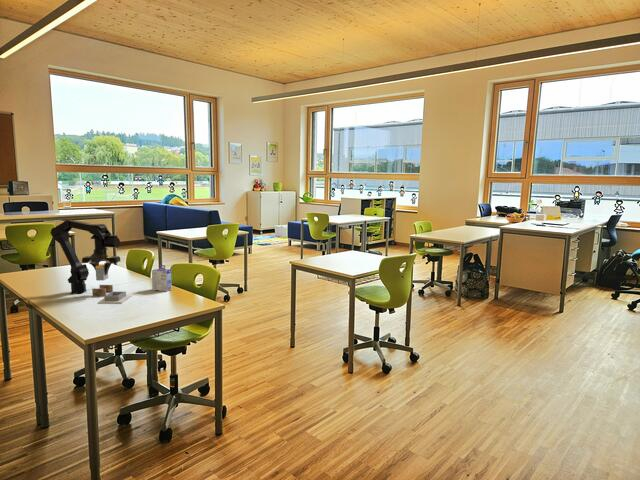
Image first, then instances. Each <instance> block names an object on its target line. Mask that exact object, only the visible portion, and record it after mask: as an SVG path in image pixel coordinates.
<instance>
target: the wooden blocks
mask: <svg viewBox="0 0 640 480" xmlns="http://www.w3.org/2000/svg"><path fill="white" fill-rule="evenodd" d="M91 291H92V296H93V297H104V296H105V295H107V293H111V292H114V285H113V284H99V288H92V290H91Z"/></svg>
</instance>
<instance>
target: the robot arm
mask: <svg viewBox="0 0 640 480" xmlns="http://www.w3.org/2000/svg"><path fill="white" fill-rule="evenodd" d="M72 229H77V230H82V231H85V232H89V234H91V235H92V236H91V237H90V240H94V249H93V253H92V254H91V255H86V256H83V257H82V258H81V261H80V260H79V258H78V255H77V254H76V252H75V250H74V248H73V245H72V243H71V241H70V233H69V232H70V231H71V230H72ZM50 236H51V237H52V238H53V240H55V241H56V243H59V245H60V247H61V250H62V252H63V253H64V255H65V258H66V259H67V262H68V263H69V265H70V276H69V278H67V282H68V284H70V289H71V291H70V292H69V294H71V295H72V294H79V295H81V294H83V293H85V292H87V291H88V290H87V284H86V282H85V281H87V280H88V277H89V275H90V272H89V271H90V269H88V267H87V265H86V263H88V265H91V266H92V267H93V268H94V271H95V272H96V267H95V266H97V265H99V264H100V262H104V263H103V264H104V265H105V275H107V273H108V274H109V270H110V268H111V265H112V264H117V263H119V262H121V257H120V256H117V255H116V256H115V255H113V256H110V257H109V255H108V254H107V253H108V252H107V251H108V248H115V249H116V248H117V249H118V248H120V244H121V239H120V238H119V236H118V235H116V234H112V233H111V231H110V230H109V229H108V227H107V225H106V224H104V223H88V222H83V221H78V220H74V219H71V218H70V219H66V220H64V221H62V222H61V223H60V224H57V225H56V226H54V227H52V228H51V229H50Z"/></svg>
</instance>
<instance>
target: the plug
mask: <svg viewBox="0 0 640 480" xmlns="http://www.w3.org/2000/svg"><path fill="white" fill-rule="evenodd" d="M95 267H96V271H95V278H96V281H105V280H107V279H109V272H108V273H107V275H105V265H104V263H99V265H97V266H95Z"/></svg>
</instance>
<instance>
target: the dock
mask: <svg viewBox="0 0 640 480" xmlns="http://www.w3.org/2000/svg"><path fill="white" fill-rule="evenodd" d="M132 297H133V294H127V291H113V292H108V293H106V295H105V296H103V298H102V299H101V300H99V301H98V302H97V304H106V305H107V304H109V305H111V304H121V305H122V304H123V303H125V302H126V301H128V300H129V299H130V298H132Z"/></svg>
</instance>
